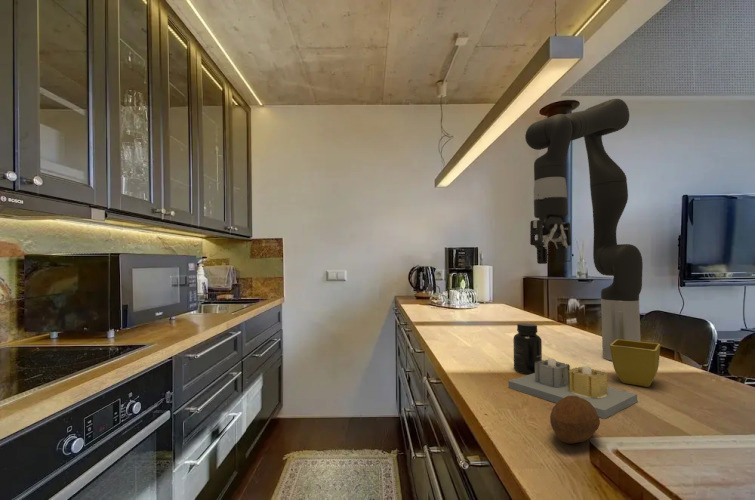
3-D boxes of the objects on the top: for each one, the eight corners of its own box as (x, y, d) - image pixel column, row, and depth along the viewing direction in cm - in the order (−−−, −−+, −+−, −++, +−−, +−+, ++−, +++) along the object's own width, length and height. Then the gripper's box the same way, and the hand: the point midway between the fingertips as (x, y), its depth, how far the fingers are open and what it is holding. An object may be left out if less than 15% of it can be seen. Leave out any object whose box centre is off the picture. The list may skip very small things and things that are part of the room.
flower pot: (610, 383, 84) (608, 344, 84) (617, 374, 90) (616, 338, 91) (657, 392, 78) (656, 350, 78) (662, 382, 84) (660, 343, 85)
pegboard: (543, 376, 89) (543, 349, 90) (637, 401, 73) (636, 369, 73) (508, 387, 81) (508, 358, 82) (604, 418, 65) (603, 382, 65)
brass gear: (580, 385, 78) (579, 366, 78) (609, 392, 73) (609, 372, 73) (566, 390, 75) (565, 370, 75) (595, 399, 70) (595, 378, 70)
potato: (603, 431, 60) (602, 389, 60) (597, 463, 51) (596, 412, 51) (558, 421, 64) (557, 381, 64) (545, 449, 55) (544, 402, 55)
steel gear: (547, 376, 84) (546, 359, 84) (572, 383, 79) (571, 364, 80) (532, 381, 81) (532, 363, 81) (557, 388, 76) (557, 369, 76)
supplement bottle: (545, 375, 90) (544, 327, 90) (516, 374, 91) (515, 326, 92) (538, 367, 97) (537, 322, 97) (511, 366, 98) (511, 322, 98)
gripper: (551, 202, 97) (553, 263, 96) (519, 197, 89) (521, 264, 88) (580, 198, 91) (582, 263, 90) (548, 192, 82) (550, 263, 82)
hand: (552, 263), depth 89 cm, fingers open, 8 cm apart
